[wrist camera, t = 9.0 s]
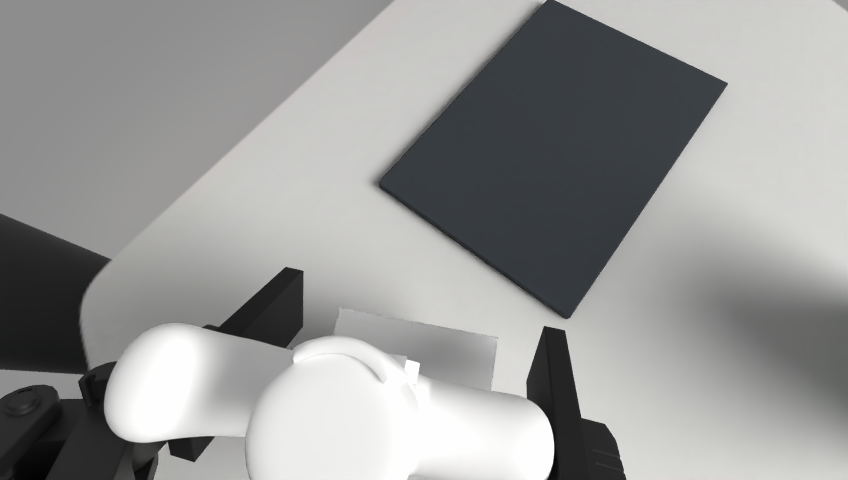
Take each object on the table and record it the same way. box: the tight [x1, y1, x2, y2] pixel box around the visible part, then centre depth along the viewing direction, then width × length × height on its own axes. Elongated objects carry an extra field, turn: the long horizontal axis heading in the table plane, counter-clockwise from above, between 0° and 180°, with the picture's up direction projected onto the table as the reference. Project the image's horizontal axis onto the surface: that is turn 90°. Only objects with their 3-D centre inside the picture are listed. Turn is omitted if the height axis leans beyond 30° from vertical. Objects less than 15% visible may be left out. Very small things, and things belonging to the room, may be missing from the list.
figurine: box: [104, 308, 554, 480], centre depth 13 cm, size 7×9×15 cm
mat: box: [379, 0, 728, 319], centre depth 27 cm, size 20×14×1 cm
